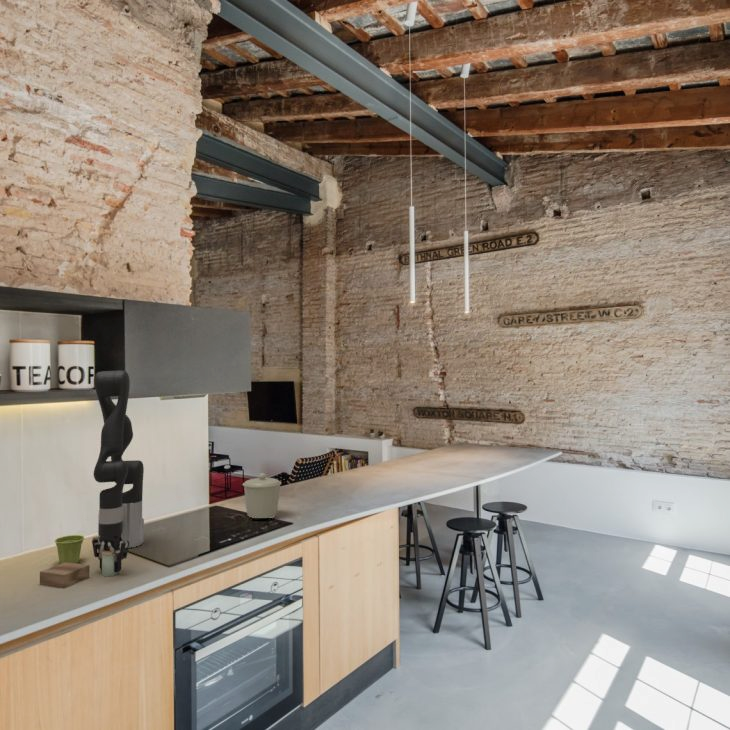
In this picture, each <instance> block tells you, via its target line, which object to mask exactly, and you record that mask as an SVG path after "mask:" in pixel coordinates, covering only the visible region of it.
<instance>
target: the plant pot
mask: <svg viewBox="0 0 730 730" xmlns="http://www.w3.org/2000/svg"><path fill="white" fill-rule="evenodd" d="M84 540H85V536H84V535H81V534H80V535H79V534H73V535H65V536H62V537H58V538H56V539H55V540H54V543H55V545H56V547H57V548H56V549H57V555H58V565H59V564H62V563H65V562H70V563H77V564H79V561H80V557H81V550H82V545H83V541H84Z"/></svg>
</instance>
